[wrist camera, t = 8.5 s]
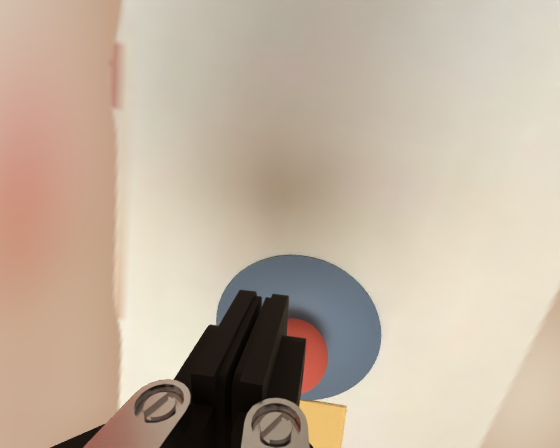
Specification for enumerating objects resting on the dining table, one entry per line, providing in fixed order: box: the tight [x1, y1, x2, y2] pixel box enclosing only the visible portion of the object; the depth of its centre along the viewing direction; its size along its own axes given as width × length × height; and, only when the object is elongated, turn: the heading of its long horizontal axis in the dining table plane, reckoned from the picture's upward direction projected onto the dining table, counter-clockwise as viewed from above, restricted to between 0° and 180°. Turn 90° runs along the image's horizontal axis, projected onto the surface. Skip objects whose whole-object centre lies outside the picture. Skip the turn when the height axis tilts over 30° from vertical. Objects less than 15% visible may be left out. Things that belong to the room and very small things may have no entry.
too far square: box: [299, 400, 346, 448], centre depth 31 cm, size 10×10×1 cm
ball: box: [287, 318, 328, 394], centre depth 25 cm, size 6×6×6 cm
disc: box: [216, 255, 381, 400], centre depth 28 cm, size 14×14×1 cm
